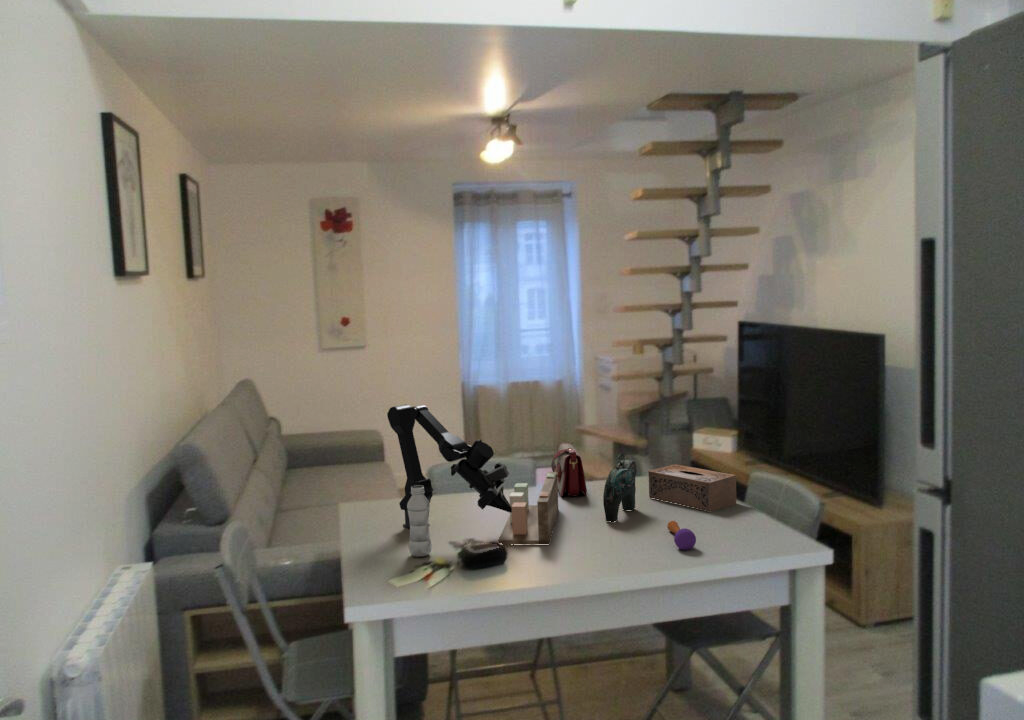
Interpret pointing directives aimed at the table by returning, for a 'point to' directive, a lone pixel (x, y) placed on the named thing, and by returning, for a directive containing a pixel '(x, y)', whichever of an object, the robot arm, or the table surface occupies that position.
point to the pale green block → (522, 488)
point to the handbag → (569, 470)
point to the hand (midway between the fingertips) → (511, 511)
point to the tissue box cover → (693, 487)
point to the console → (537, 517)
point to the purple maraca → (682, 536)
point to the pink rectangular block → (519, 518)
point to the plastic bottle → (419, 522)
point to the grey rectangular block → (515, 500)
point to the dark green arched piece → (620, 489)
